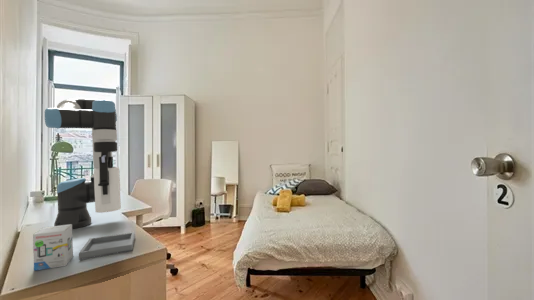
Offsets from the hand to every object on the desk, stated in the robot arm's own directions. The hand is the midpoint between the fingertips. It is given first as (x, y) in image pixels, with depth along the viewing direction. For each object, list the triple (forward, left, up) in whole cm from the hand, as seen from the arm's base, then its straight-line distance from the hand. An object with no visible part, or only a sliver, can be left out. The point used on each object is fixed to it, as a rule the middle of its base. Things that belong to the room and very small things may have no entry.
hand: (108, 201), depth 99 cm
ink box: (+7, -15, -18) cm, 24 cm away
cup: (0, 0, -3) cm, 3 cm away
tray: (0, 0, -18) cm, 18 cm away
